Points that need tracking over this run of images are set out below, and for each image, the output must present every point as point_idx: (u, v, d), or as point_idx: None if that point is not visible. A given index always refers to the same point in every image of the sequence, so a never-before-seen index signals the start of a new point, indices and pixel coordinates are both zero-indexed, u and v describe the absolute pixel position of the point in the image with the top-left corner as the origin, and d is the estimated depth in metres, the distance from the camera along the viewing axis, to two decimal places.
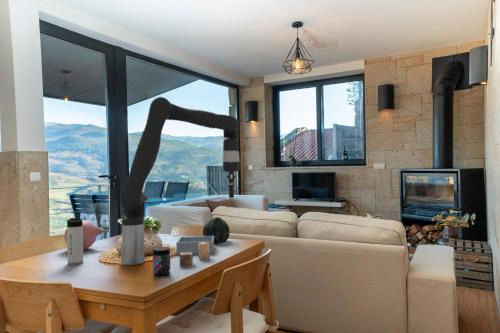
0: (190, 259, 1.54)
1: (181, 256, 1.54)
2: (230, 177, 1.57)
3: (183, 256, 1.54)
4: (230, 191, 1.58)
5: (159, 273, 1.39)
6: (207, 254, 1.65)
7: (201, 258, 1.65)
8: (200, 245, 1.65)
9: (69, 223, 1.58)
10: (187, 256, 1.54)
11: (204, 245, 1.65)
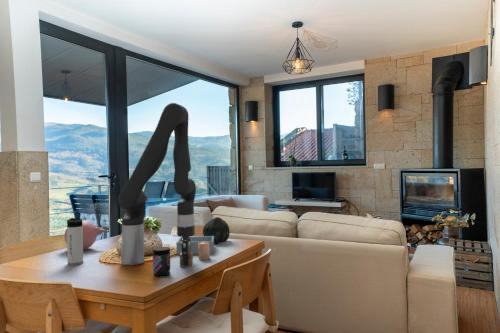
0: (190, 259, 1.54)
1: (181, 256, 1.54)
2: (183, 247, 1.50)
3: None
4: (184, 259, 1.53)
5: (159, 273, 1.39)
6: (207, 254, 1.65)
7: (201, 258, 1.65)
8: (200, 245, 1.65)
9: (69, 223, 1.58)
10: None
11: (204, 245, 1.65)
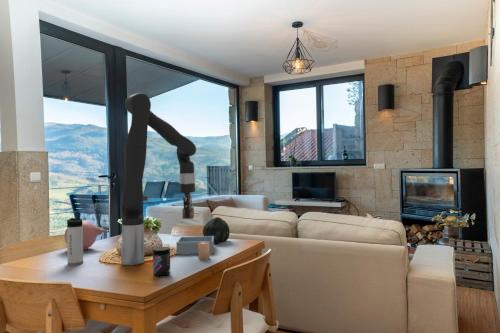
0: (191, 212, 1.75)
1: None
2: (185, 200, 1.71)
3: None
4: (186, 212, 1.74)
5: (159, 273, 1.39)
6: (207, 254, 1.65)
7: (201, 258, 1.65)
8: (200, 245, 1.65)
9: (69, 223, 1.58)
10: None
11: (204, 245, 1.65)
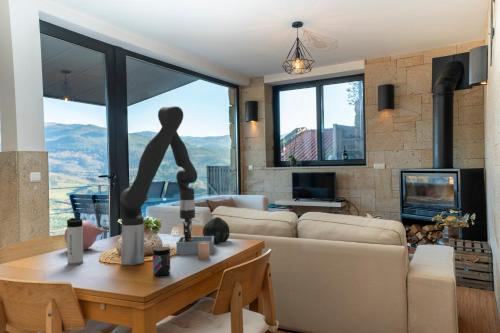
0: None
1: (184, 241, 1.80)
2: (185, 225, 1.75)
3: None
4: (185, 237, 1.77)
5: (159, 273, 1.39)
6: (207, 254, 1.65)
7: (201, 258, 1.65)
8: (200, 245, 1.65)
9: (69, 223, 1.58)
10: (189, 241, 1.80)
11: (204, 245, 1.65)
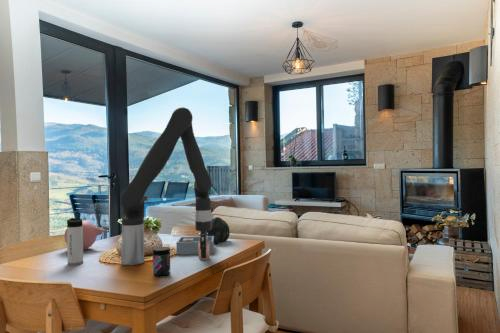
0: None
1: (184, 241, 1.80)
2: (201, 240, 1.60)
3: (185, 241, 1.80)
4: (202, 252, 1.63)
5: (159, 273, 1.39)
6: (207, 254, 1.65)
7: (201, 258, 1.65)
8: None
9: (69, 223, 1.58)
10: (189, 241, 1.80)
11: (204, 245, 1.65)
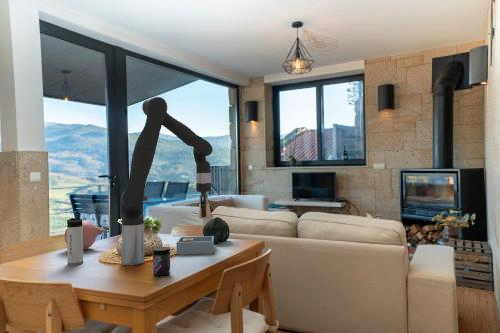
0: None
1: (184, 241, 1.80)
2: (202, 200, 1.74)
3: (185, 241, 1.80)
4: (202, 211, 1.77)
5: (159, 273, 1.39)
6: (207, 214, 1.79)
7: (202, 217, 1.79)
8: None
9: (69, 223, 1.58)
10: (189, 241, 1.80)
11: (204, 205, 1.78)
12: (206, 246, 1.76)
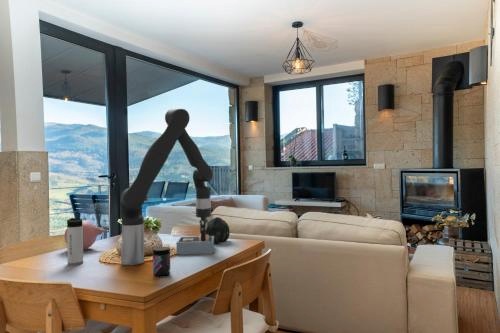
0: None
1: (184, 241, 1.80)
2: (201, 223, 1.76)
3: (185, 241, 1.80)
4: (202, 235, 1.78)
5: (159, 273, 1.39)
6: None
7: None
8: (200, 236, 1.81)
9: (69, 223, 1.58)
10: (189, 241, 1.80)
11: None
12: (206, 246, 1.76)
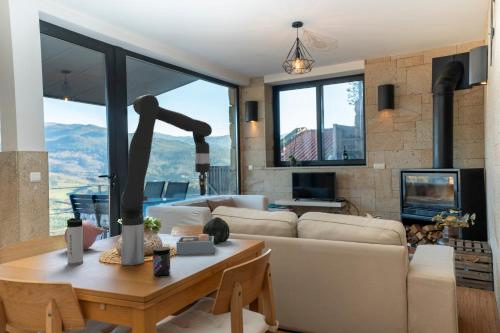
0: None
1: (184, 241, 1.80)
2: (201, 177, 1.76)
3: (185, 241, 1.80)
4: (201, 190, 1.77)
5: (159, 273, 1.39)
6: None
7: None
8: (200, 236, 1.81)
9: (69, 223, 1.58)
10: (189, 241, 1.80)
11: (204, 236, 1.80)
12: (206, 246, 1.76)
